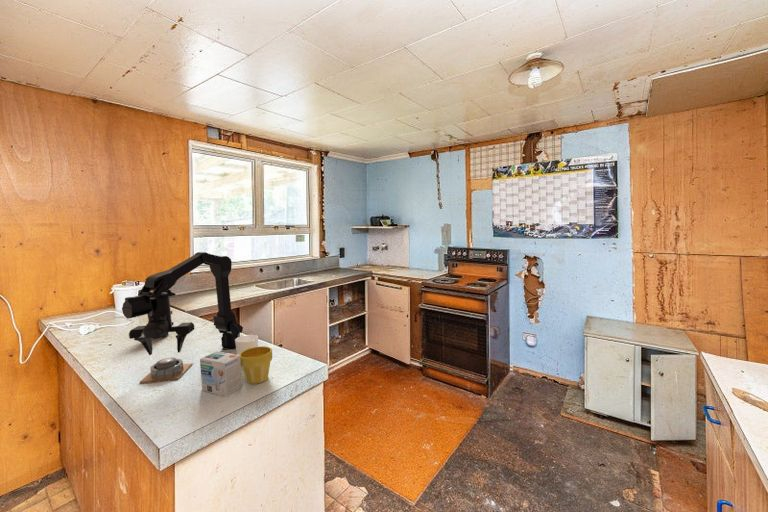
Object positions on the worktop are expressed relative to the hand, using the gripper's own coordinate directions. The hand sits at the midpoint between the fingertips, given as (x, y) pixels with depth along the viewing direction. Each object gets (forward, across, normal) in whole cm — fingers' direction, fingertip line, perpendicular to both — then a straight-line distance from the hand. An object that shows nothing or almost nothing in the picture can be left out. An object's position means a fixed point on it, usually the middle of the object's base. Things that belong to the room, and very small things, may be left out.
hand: (165, 353), depth 116 cm
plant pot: (+8, +33, -12) cm, 36 cm away
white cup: (+8, +27, +2) cm, 28 cm away
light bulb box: (+8, +23, -16) cm, 29 cm away
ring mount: (+8, 0, 0) cm, 8 cm away
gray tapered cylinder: (+7, 0, 0) cm, 7 cm away
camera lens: (+8, -22, +44) cm, 50 cm away
